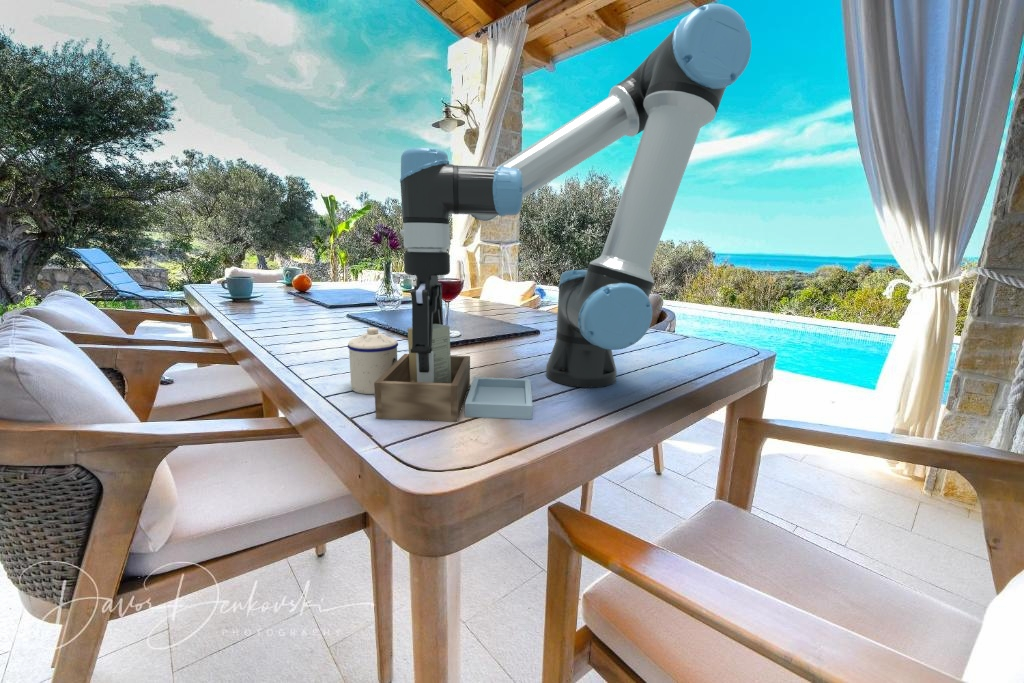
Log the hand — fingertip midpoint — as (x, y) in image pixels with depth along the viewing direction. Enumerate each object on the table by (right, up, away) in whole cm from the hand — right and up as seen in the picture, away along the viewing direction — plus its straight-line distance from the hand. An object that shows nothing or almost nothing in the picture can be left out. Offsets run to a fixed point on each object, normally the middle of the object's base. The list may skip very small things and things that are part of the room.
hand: (430, 381), depth 74 cm
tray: (+12, -4, +1) cm, 13 cm away
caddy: (-1, -3, +1) cm, 4 cm away
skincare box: (0, -2, 0) cm, 2 cm away
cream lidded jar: (-13, -2, +8) cm, 15 cm away
